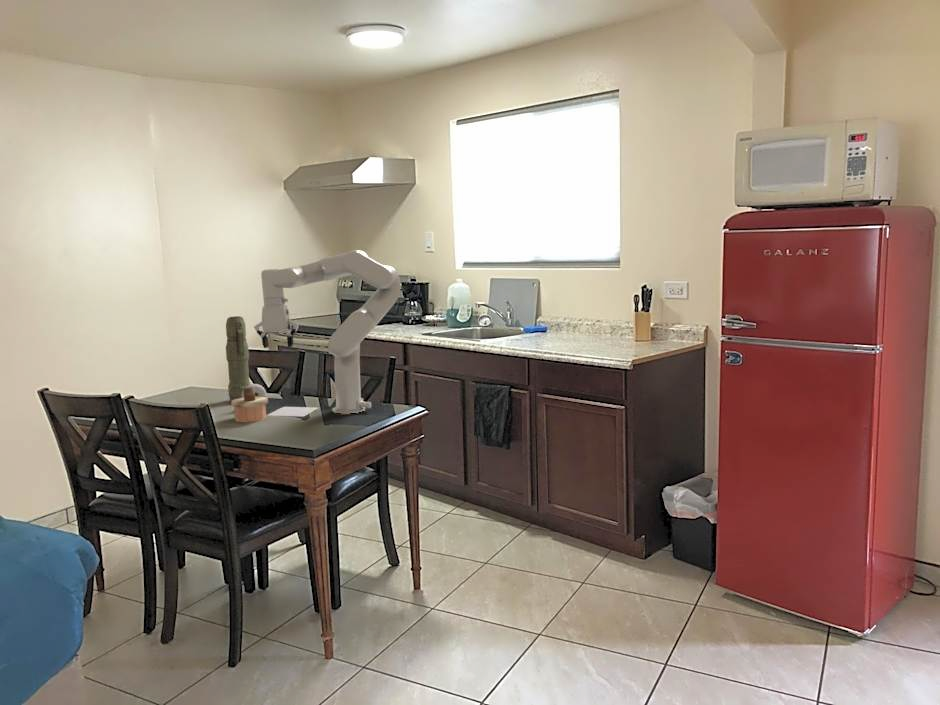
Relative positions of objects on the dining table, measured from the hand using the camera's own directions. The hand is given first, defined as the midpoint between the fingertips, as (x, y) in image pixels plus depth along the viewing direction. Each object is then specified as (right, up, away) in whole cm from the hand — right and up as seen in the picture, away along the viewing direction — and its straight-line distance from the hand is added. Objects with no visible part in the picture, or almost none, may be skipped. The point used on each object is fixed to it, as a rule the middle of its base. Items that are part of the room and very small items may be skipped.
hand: (278, 347), depth 281 cm
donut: (-12, -25, +10) cm, 29 cm away
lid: (-8, -21, -9) cm, 24 cm away
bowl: (-8, -27, -8) cm, 29 cm away
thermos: (-22, -22, +25) cm, 40 cm away
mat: (+5, -25, +3) cm, 26 cm away
